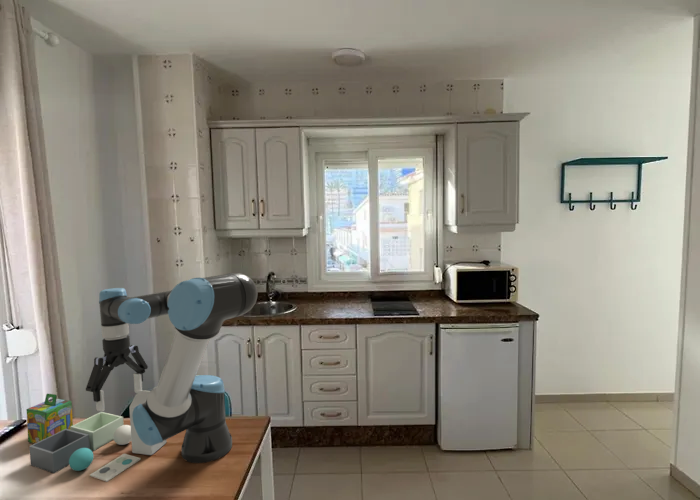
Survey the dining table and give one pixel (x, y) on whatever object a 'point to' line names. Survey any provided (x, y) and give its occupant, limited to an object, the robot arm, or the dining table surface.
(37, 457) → the grey storage bin
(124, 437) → the ball white
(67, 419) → the chalk box
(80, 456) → the ball teal
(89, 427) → the pale green tray
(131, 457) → the card
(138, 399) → the milk carton
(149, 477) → the dining table surface
